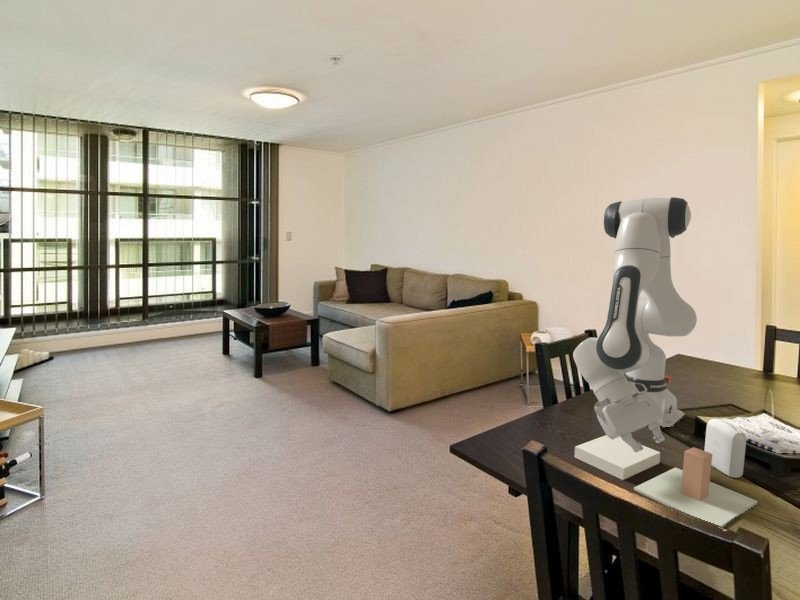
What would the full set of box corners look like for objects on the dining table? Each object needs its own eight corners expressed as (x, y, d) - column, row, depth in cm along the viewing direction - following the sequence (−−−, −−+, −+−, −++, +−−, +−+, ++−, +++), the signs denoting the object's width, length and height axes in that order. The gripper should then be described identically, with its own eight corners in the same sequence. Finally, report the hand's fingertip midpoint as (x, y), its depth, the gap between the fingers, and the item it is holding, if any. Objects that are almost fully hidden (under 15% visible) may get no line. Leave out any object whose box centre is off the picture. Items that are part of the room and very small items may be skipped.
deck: (610, 443, 136) (611, 433, 136) (659, 463, 125) (660, 452, 124) (574, 457, 128) (574, 446, 127) (622, 480, 116) (623, 468, 116)
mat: (675, 469, 121) (675, 467, 121) (757, 503, 106) (757, 501, 106) (633, 489, 112) (633, 487, 112) (717, 530, 97) (718, 527, 97)
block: (689, 487, 112) (693, 447, 110) (708, 495, 108) (712, 453, 107) (680, 492, 110) (684, 451, 108) (699, 500, 106) (703, 458, 105)
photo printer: (700, 458, 127) (704, 414, 125) (716, 458, 127) (720, 414, 125) (728, 478, 117) (733, 430, 115) (745, 478, 117) (751, 430, 115)
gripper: (600, 397, 116) (635, 451, 109) (647, 383, 127) (682, 431, 120) (583, 409, 120) (616, 462, 114) (630, 394, 131) (663, 441, 125)
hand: (650, 446), depth 117 cm, fingers open, 8 cm apart
